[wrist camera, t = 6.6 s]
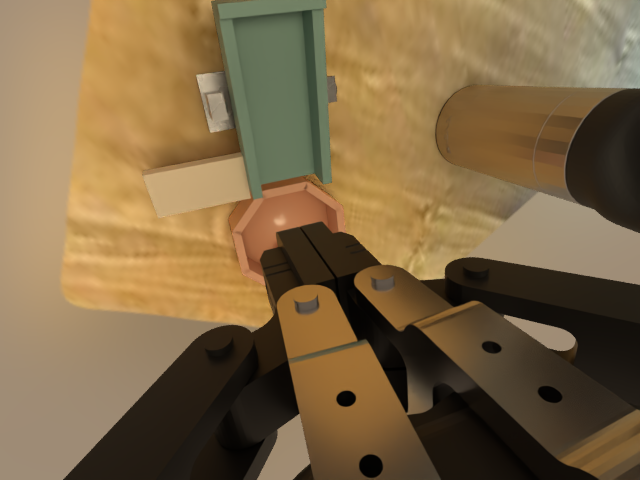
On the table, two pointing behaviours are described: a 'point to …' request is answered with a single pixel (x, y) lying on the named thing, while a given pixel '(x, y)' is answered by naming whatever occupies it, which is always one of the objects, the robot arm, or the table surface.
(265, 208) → the pink octagonal bowl
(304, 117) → the chute
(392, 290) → the robot arm
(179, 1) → the table surface
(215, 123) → the chute stand
